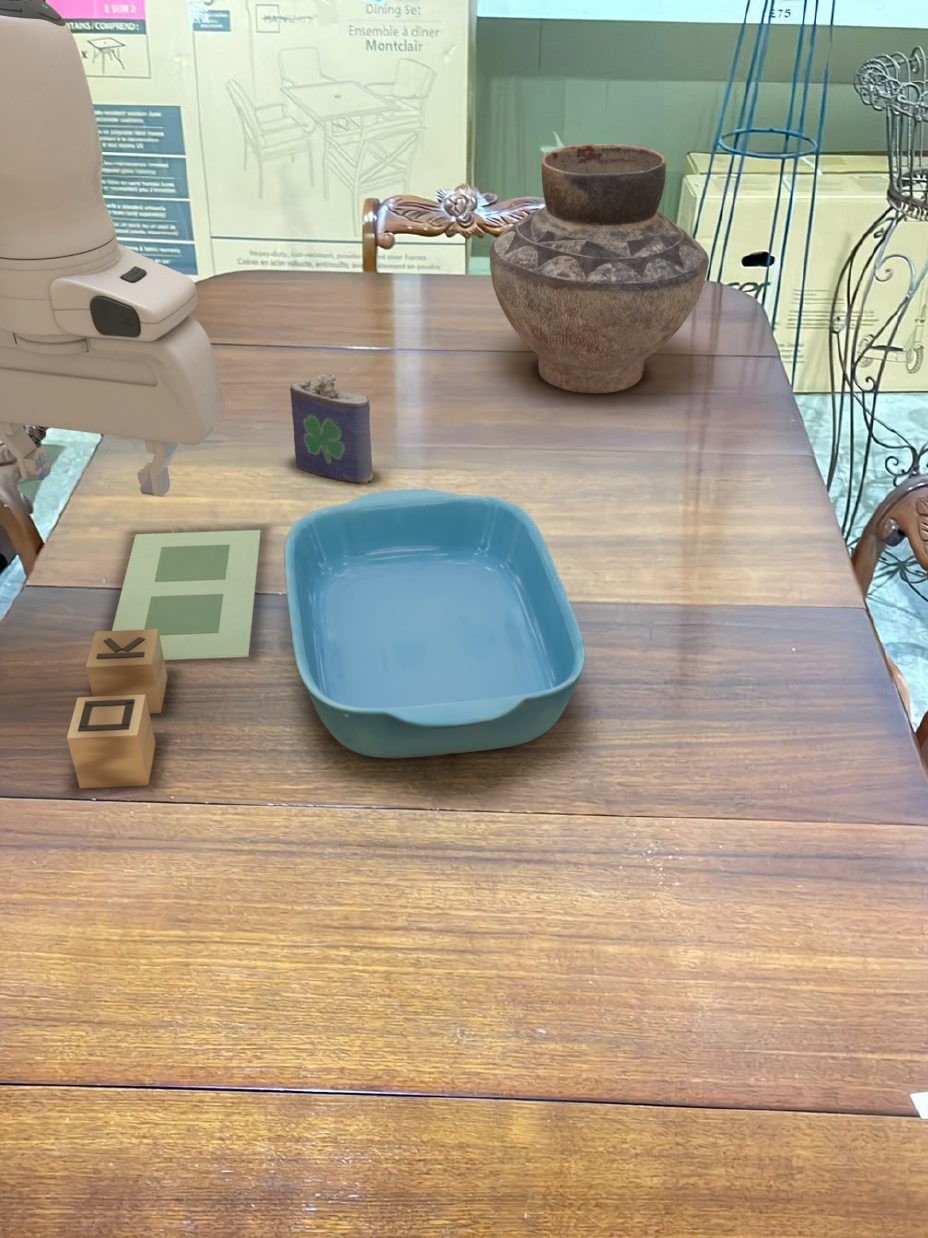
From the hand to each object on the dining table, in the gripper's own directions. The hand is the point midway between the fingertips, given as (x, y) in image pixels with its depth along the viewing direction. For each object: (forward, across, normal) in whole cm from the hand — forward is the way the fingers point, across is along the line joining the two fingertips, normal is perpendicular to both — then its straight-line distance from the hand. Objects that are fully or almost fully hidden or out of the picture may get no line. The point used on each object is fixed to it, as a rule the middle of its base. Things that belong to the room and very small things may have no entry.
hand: (96, 484), depth 90 cm
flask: (+18, +2, +41) cm, 45 cm away
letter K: (+18, 0, -1) cm, 18 cm away
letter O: (+18, +3, -10) cm, 21 cm away
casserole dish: (+18, +21, +11) cm, 30 cm away
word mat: (+18, -2, +15) cm, 24 cm away
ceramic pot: (+18, +23, +75) cm, 80 cm away
